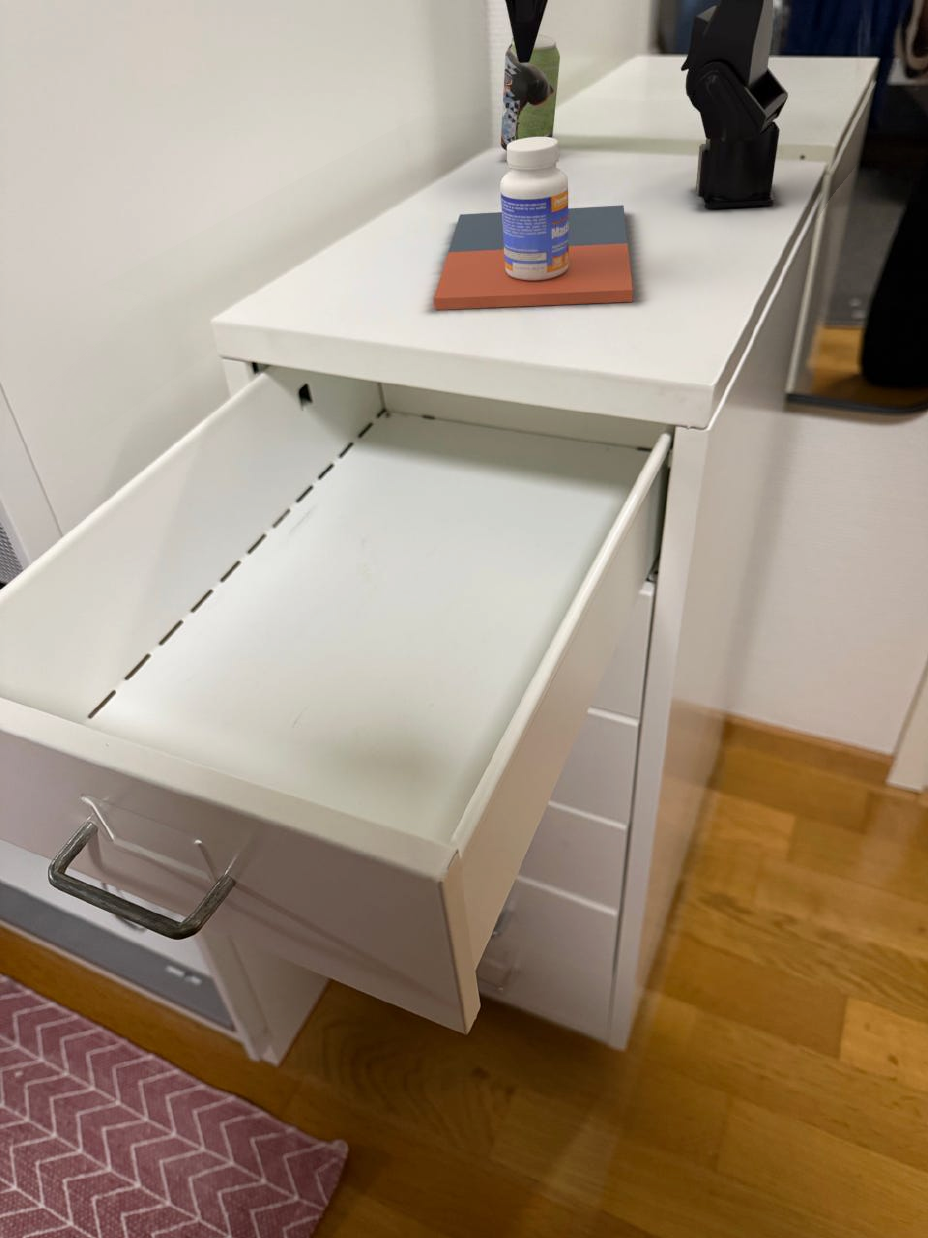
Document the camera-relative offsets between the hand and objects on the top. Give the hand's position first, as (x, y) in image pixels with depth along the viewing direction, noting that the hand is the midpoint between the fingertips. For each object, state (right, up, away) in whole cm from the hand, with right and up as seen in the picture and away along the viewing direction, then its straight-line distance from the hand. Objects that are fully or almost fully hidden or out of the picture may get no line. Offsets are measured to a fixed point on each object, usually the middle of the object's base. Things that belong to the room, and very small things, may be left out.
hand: (524, 53), depth 88 cm
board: (0, -24, -9) cm, 26 cm away
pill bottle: (0, -27, -13) cm, 30 cm away
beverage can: (+2, -2, +17) cm, 17 cm away
